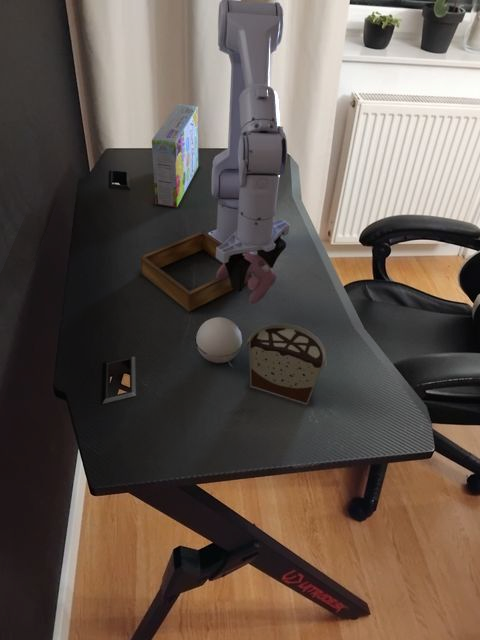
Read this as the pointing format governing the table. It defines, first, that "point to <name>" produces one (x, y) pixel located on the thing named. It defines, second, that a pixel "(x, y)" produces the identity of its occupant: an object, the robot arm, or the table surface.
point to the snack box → (175, 155)
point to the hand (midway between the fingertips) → (249, 282)
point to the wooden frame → (176, 252)
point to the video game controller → (258, 282)
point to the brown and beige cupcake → (285, 361)
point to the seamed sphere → (218, 340)
